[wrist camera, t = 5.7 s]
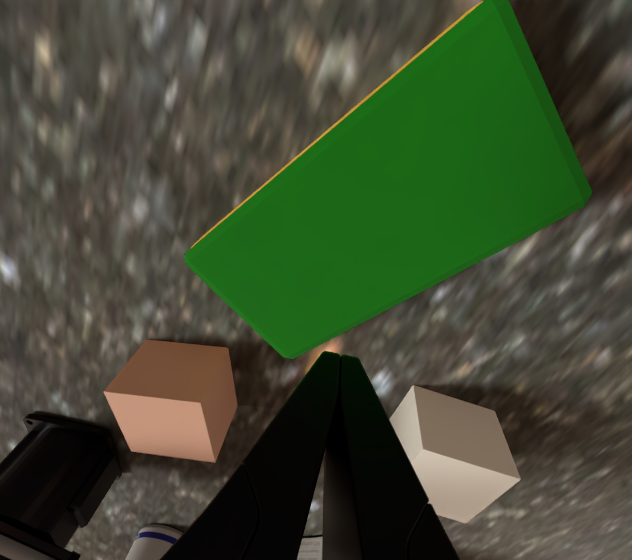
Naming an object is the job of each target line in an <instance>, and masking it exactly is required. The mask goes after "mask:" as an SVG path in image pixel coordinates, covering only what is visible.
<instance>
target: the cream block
mask: <svg viewBox="0 0 632 560" xmlns="http://www.w3.org/2000/svg"><path fill="white" fill-rule="evenodd" d="M389 420H390V422H391V424H392V426H393V428H394V430H395V432H396V434H397V436H398V438H399V440H400V442H401V444H402V446H403V448H404V450H405V452H406V454H407V456H408V458H409V460H410V462H411V464H412V466H413V468H414V470H415V472H416V474H417V476H418V478H419V480H420V482H421V484H422V486H423V488H424V490H425V492H426V494H427V496H428V498H429V502H428V504H429V503H430V504H432V506H433V508H434V510H435V512H436V514H437V515H440V516H443V517H446V518H450V519H453V520H456V521H460V522H463V523H467V522H468V521H469V520H471V519H472V518H473V517H474V516H476V515H477V514H478V513H479V512H481V511H482V510H483V509H484V508H486V507H487V506H488V505H489V504H491V503H492V502H493V501H495V500H496V499H497V498H498V497H500V496H501V495H502V494H503V493H505V492H506V491H507V490H508V489H510V488H511V487H512V486H513V485H515V484H516V483H517V482H518V481H520V480H521V478H520V476H519V473H518V471H517V468H516V465H515V463H514V460H513V457H512V455H511V452H510V450H509V447H508V444H507V442H506V439H505V436H504V434H503V431H502V428H501V426H500V423H499V421H498V418H497V415H496V413H495V411H493V410H490V409H487V408H484V407H481V406H478V405H475V404H471V403H468V402H465V401H462V400H459V399H456V398H453V397H449V396H446V395H443V394H440V393H437V392H434V391H431V390H428V389H424V388H421V387H418V386H415V385H413V386H412V387H411V389H410V390H409V392H408V393H407V395H406V396H405V398H404V399H403V400H402V402H401V403H400V405H399V406H398V408H397V409H396V411H395V412H394V413H393V415H392V416H391V418H390V419H389Z"/></svg>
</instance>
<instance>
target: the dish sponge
mask: <svg viewBox="0 0 632 560" xmlns="http://www.w3.org/2000/svg"><path fill="white" fill-rule="evenodd" d="M592 193H593V192H592V190H591V188H590V185H589V183H588V181H587V178H586V176H585V174H584V172H583V169H582V167H581V165H580V162H579V160H578V158H577V156H576V153H575V151H574V149H573V146H572V144H571V142H570V140H569V137H568V135H567V133H566V130H565V128H564V126H563V124H562V121H561V119H560V117H559V114H558V112H557V110H556V107H555V105H554V103H553V101H552V98H551V96H550V94H549V91H548V89H547V87H546V85H545V82H544V80H543V78H542V75H541V73H540V71H539V69H538V66H537V64H536V62H535V59H534V57H533V55H532V53H531V50H530V48H529V46H528V43H527V41H526V39H525V36H524V34H523V32H522V30H521V27H520V25H519V23H518V20H517V18H516V16H515V14H514V11H513V9H512V7H511V4H510V2H509V0H484V1H482V2H480V3H479V4H477V5H475V6H474V7H472V8H471V9H469V10H468V11H467V12H466V13H465V14H463V15H462V16H461V17H460V18H459V19H458V20H456V21H455V22H454V23H453V24H452V25H451V26H449V27H448V28H447V29H446V30H445V31H443V32H442V33H441V34H440V35H439V36H438V37H436V38H435V39H434V40H433V41H432V42H430V43H429V44H428V45H427V46H426V47H425V48H423V49H422V50H421V51H420V52H419V53H418V54H416V55H415V56H414V57H413V58H412V59H410V60H409V61H408V62H407V63H406V64H405V65H403V66H402V67H401V68H400V69H399V70H397V71H396V72H395V73H394V74H393V75H392V76H390V77H389V78H388V79H387V80H386V81H385V82H383V83H382V84H381V85H380V86H379V87H377V88H376V89H375V90H374V91H373V92H372V93H370V94H369V95H368V96H367V97H366V98H365V99H363V100H362V101H361V102H360V103H359V104H357V105H356V106H355V107H354V108H353V109H352V110H350V111H349V112H348V113H347V114H346V115H344V116H343V117H342V118H341V119H340V120H339V121H337V122H336V123H335V124H334V125H333V126H332V127H330V128H329V129H328V130H327V131H326V132H324V133H323V134H322V135H321V136H320V137H319V138H317V139H316V140H315V141H314V142H313V143H312V144H310V145H309V146H308V147H307V148H306V149H304V150H303V151H302V152H301V153H300V154H299V155H297V156H296V157H295V158H294V159H293V160H291V161H290V162H289V163H288V164H287V165H286V166H284V167H283V168H282V169H281V170H280V171H279V172H277V173H276V174H275V175H274V176H273V177H271V178H270V179H269V180H268V181H267V182H266V183H264V184H263V185H262V186H261V187H260V188H259V189H257V190H256V191H255V192H254V193H253V194H251V195H250V196H249V197H248V198H247V199H246V200H244V201H243V202H242V203H241V204H240V205H238V206H237V207H236V208H235V209H234V210H233V211H231V212H230V213H229V214H228V215H227V216H226V217H224V218H223V219H222V220H221V221H220V222H218V223H217V224H216V225H215V226H214V227H213V228H211V229H210V230H209V231H208V232H207V233H205V234H204V235H203V236H202V237H201V238H200V239H199V240H198V241H197V242H196V243H195V244H194V245H193V246H192V247H191V248H190V249H189V250H188V251H187V252H186V253H185V254H184V255H185V264H186V265H187V266H188V267H189V268H190V269H191V270H192V271H193V272H194V273H195V274H197V275H198V276H199V277H200V278H201V279H202V280H203V281H204V282H205V283H206V284H207V285H208V286H209V287H210V288H211V289H212V290H213V291H214V292H215V293H216V294H217V295H219V296H220V297H221V298H222V299H223V300H224V301H225V302H226V303H227V304H228V305H229V306H230V307H231V308H232V309H233V310H234V311H235V312H236V313H237V314H238V315H239V316H240V317H242V318H243V319H244V320H245V321H246V322H247V323H248V324H249V325H250V326H251V327H252V328H253V329H254V330H255V331H256V332H257V333H258V334H259V335H260V336H261V337H262V338H263V339H265V340H266V341H267V342H268V343H269V344H270V345H271V346H272V347H273V348H274V349H275V350H276V351H277V352H278V353H279V354H280V355H281V356H282V357H284V358H290V359H294V358H296V357H298V356H300V355H302V354H303V353H305V352H307V351H309V350H311V349H313V348H315V347H317V346H319V345H321V344H323V343H325V342H326V341H328V340H330V339H332V338H334V337H336V336H338V335H340V334H342V333H344V332H346V331H348V330H349V329H351V328H353V327H355V326H357V325H359V324H361V323H363V322H365V321H367V320H369V319H370V318H372V317H374V316H376V315H378V314H380V313H382V312H384V311H386V310H388V309H390V308H392V307H393V306H395V305H397V304H399V303H401V302H403V301H405V300H407V299H409V298H411V297H413V296H414V295H416V294H418V293H420V292H422V291H424V290H426V289H428V288H430V287H432V286H434V285H436V284H437V283H439V282H441V281H443V280H445V279H447V278H449V277H451V276H453V275H455V274H457V273H459V272H460V271H462V270H464V269H466V268H468V267H470V266H472V265H474V264H476V263H478V262H480V261H481V260H483V259H485V258H487V257H489V256H491V255H493V254H495V253H497V252H499V251H501V250H503V249H504V248H506V247H508V246H510V245H512V244H514V243H516V242H518V241H520V240H522V239H524V238H526V237H527V236H529V235H531V234H533V233H535V232H537V231H539V230H541V229H543V228H545V227H547V226H548V225H550V224H552V223H554V222H556V221H558V220H560V219H562V218H564V217H566V216H568V215H570V214H571V213H573V212H575V211H577V210H579V209H581V208H583V207H585V205H586V203H587V202H588V200H589V198H590V196H591V194H592Z"/></svg>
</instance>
